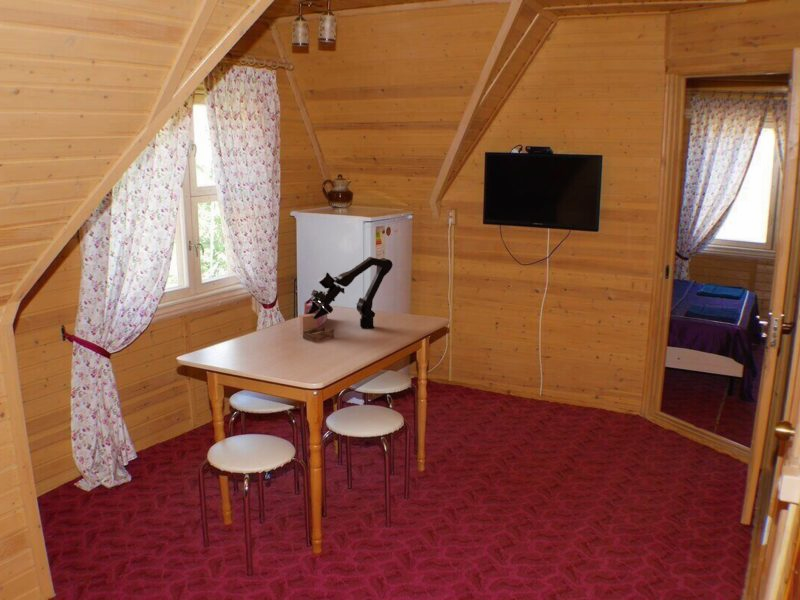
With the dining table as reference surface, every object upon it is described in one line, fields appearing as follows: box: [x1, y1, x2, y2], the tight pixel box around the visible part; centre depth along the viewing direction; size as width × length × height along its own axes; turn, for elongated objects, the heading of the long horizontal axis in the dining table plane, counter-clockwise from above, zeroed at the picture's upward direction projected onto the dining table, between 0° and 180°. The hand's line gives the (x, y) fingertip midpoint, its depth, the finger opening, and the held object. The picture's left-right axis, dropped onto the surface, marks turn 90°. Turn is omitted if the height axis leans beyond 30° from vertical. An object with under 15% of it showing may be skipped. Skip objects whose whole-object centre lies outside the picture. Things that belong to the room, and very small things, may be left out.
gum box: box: [303, 295, 328, 328], centre depth 403 cm, size 24×8×14 cm, turn 173°
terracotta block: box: [299, 314, 318, 336], centre depth 382 cm, size 8×4×10 cm, turn 116°
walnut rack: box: [302, 326, 335, 343], centre depth 374 cm, size 13×9×4 cm
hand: (311, 316), depth 381 cm, fingers open, 9 cm apart
